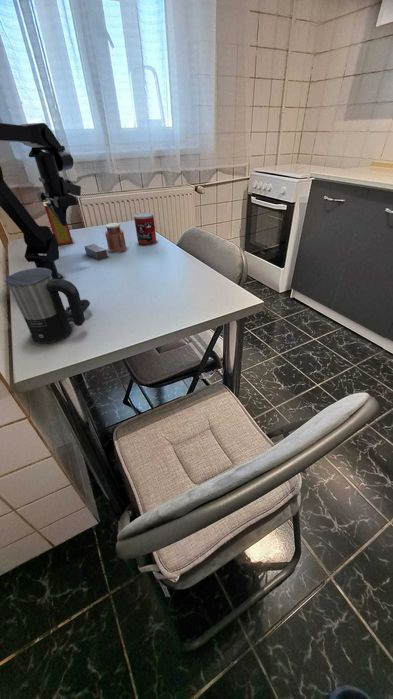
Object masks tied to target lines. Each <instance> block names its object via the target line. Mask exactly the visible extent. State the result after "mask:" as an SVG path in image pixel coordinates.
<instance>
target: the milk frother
mask: <svg viewBox="0 0 393 699" xmlns="http://www.w3.org/2000/svg"><path fill="white" fill-rule="evenodd" d="M51 273H52V272H51V270H50V269H47V268H36V267H35V268H34V267H33V268H32V267H31V268H27V269H22V270H19V271H17V272H14V273H12V274H10V275H8V276H7V277H6V278H5V279H4V283H5V285H7V286H8V289H9V291H10V292H11V295H12V296H13V299H14V301H15V303H16V305H17V307H18V309H19V311H20V314H21V315H22V317H23V319H24V322H25V323H26V326H27V328H28V330H29V333H30V335H31V336H30V338H31V340H32V341H33V342H35V343H36V344H51V343H56V342H58V341H60V340H63V339H64V338H66V337H67V336H69V334H70V333H72V329H73V326H72V325H71V322H73V323H74V325H75V326H76V327H80V326H83V324H84V322H85V321H86V318H85V317H86V316H85V313H84V312H85V311H86V310H87V309H88V308H89V307H90V305H91V302H90V300H89V299H86V298H85V299H81V296H80V293H79V289H78V288H77V286H76V285H75V284H73V283H72V281H69V280H67V279H64V278H61V279H52V276H51ZM59 292H60V293H62V294H64V295H65V297H66V300H67V303H68V306H66V307H65V306H64V303H63V301H62V298H61V295H60V293H59Z"/></svg>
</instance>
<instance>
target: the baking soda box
mask: <svg viewBox="0 0 393 699" xmlns="http://www.w3.org/2000/svg"><path fill="white" fill-rule="evenodd" d="M42 204H43V207H44V210H45V213H46V217H47V220H48V223H49V225H50V230H51V232H52V233H53V234H54V235H55V236H56V237H55V238H56V240H57V242H58V247H60V246H65V245H71V244H74V242H73V238H72V235H71V231H70V228H69V224H68V220H66V226H62V225H61V223H60V222H59V221H58V219H57V218H56V217H55V215H54V214H53V213H52V212H51V210H50V209H49V208H48V207H47V206H46V204H48V202H47V201H43V202H42Z"/></svg>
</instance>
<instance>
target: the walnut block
mask: <svg viewBox="0 0 393 699" xmlns="http://www.w3.org/2000/svg"><path fill="white" fill-rule="evenodd" d="M83 248H84V250H85V254H86V255H87V256H89V257H92V259H94V260H95V259H96V260H97V261H100V260H105V259H108V258H109V255H108V250H107V249H106V248H104V247H103V246H99V245H98V244H95V243H92V244H89V245H85V246H83Z"/></svg>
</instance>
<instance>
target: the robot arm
mask: <svg viewBox="0 0 393 699" xmlns="http://www.w3.org/2000/svg"><path fill="white" fill-rule="evenodd" d="M0 142H8V143H9V142H13V143H21V144H23V145H24V146H27V147H30V148H31V150H30V151H29V152H28V157H29V158H34V162H35V164H36V167H37V171H38V174H39V177H38V180H39V182H41V184H42V187H43V190H40V191H38V192H37V193H36V194H37V195H36V196H37V200H38V201H39V202H41V203H43V202H44V201H46V202H48V204H46V206H47V207H48V208H49V209H50V210H51V212H52V213H53V214H54V215H55V217H56V218H57V219H58V221H59V222H60V223H61V225H62V226H66V221H67V210H68V208H69V207H72V206H78V205H79V202H78V199H77V197H81V193H82V186H81V185H78V184H73V182H72V181H71V180H68V179H65V178H64V177H63V176H61V175H60V172H64V171H69V170H71V169H73V167H74V158H73V157H72V154H71V153H70V152H69V151H68V150H66V148H65V145H62V144H61V143H60V142H59V140H58V138H57V137H56V135H55V134H54V133H53V131H52V129H51V128H49V125H48V124H47V123H45V122H31V123H23V124H14V123H5V122H0ZM0 208H1V209H2V210H3V212H5V213H6V216H8V217H9V218H10V220H11V221H12V222H13V223H14V224H15V225H16V227H17V228H18V229H19V230H20V232H22V234H23V241H24V243H25V245H26V248H25V252H24V259H25V260H26V261H27V262H28V263H34V265H35V268H47V269H50V270H51V272H52V273H51V276H52V279H64V276H63V274H60V273H59V271H58V269H57V265H56V263H55V261H57V260H59V259H60V252H59V246H58V242H57V240H56V238H55V237H56V236H55V235H54V234H53V232H52V229H51V227H49V226H48V225H39V224H38V223H37V222H36V221H35V219H34V218H33V216H32V215H31V213H30V212H29V211H28V210H27V208H26V207H25V206H24V204H23V203H22V202H21V201H20V199H19V198H18V196H16V194H15V193H14V191H13V190H12V189H11V188H10V186H9V185H8V184H7V182H6V181H5V180H4V174H3V168H2V166H1V165H0Z"/></svg>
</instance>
